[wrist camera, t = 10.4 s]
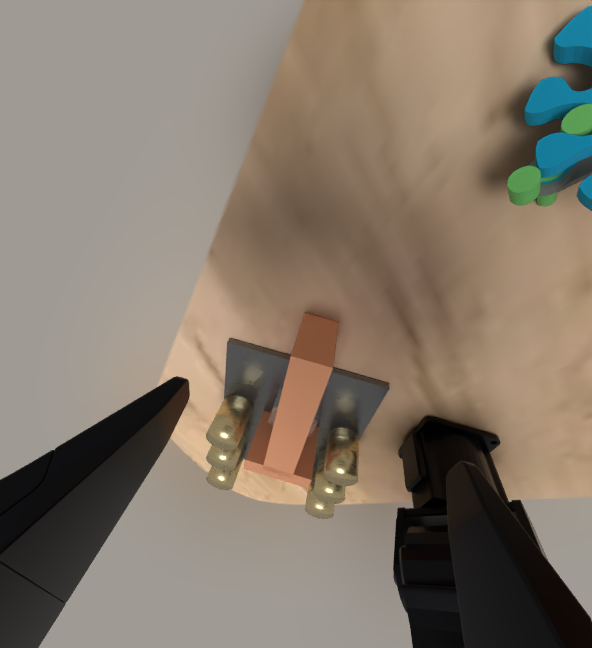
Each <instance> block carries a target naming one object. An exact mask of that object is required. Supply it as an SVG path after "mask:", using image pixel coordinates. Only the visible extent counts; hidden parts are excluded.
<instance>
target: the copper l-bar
mask: <svg viewBox="0 0 592 648" xmlns="http://www.w3.org/2000/svg"><path fill="white" fill-rule="evenodd" d="M338 323H339V322H336V321H333V320H329V319H326V318H322V317H318V316H315V315H311V314H308V313H305V315H304V318H303V321H302V324H301V327H300V330H299V333H298V336H297V339H296V342H295V345H294V348H293V351H292V354H291V357H290V361H289V365H288V369H287V373H286V377H285V381H284V385H283V389H282V393H281V397H280V401H279V405H278V409H277V413H276V417H275V421H274V425H273V426H272V425H271V424H269V423H268V421H269V418H270V415H271V413H269V412H266V411H263V413H262V416H261V419H260V421H259V424H258V427H257V429H256V432H255V435H254V438H253V440H252V443H251V446H250V448H249V451H248V454H247V457H246V459H245V464H244V469H247V470H251V471H254V472H257V473H260V474H264V475H267V476H270V477H273V478H276V479H280V480H283V481H286V482H289V483H293V484H296V485H299V486H302V487H305V488H308V487H309V485H310V483H311V480H312V474H313V467H314V460H315V453H316V447H317V440H318V433H319V427H315V428H314V430H313V432H312V434H311V436H310V437H307V436H308V433H309V431H310V428H311V425H312V423H313V420H314V417H315V415H316V412H317V409H318V407H319V404H320V401H321V399H322V396H323V393H324V391H325V388H326V385H327V383H328V380H329V377H330V375H331V372H332V369H333V364H334V355H335V347H336V339H337V331H338Z"/></svg>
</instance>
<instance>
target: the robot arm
mask: <svg viewBox="0 0 592 648" xmlns="http://www.w3.org/2000/svg"><path fill="white" fill-rule="evenodd" d="M189 396H190V393H189V381H188V380H187V379H185V378H182V377H178V376H177V377H173V378H172V379H170V380H168V381H167V382H165V383H163V384H162V385H160V386H158V387H157V388H155V389H153V390H152V391H150V392H148V393H147V394H145V395H143V396H142V397H140V398H138V399H137V400H135V401H133V402H132V403H130V404H128V405H127V406H125V407H123V408H122V409H120V410H118V411H117V412H115V413H114V414H112V415H110V416H108V417H107V418H105V419H103V420H102V421H100V422H98V423H97V424H95V425H93V426H92V427H90V428H88V429H87V430H85V431H83V432H82V433H80V434H78V435H77V436H75V437H73V438H72V439H70V440H68V441H67V442H65V443H63V444H62V445H60V446H58V447H57V448H56V449H55V450H52V451H50V452H48V453H46V454H45V455H43V456H41V457H40V458H38V459H37V460H35V461H33V462H32V463H29V464H28V465H26V466H24V467H22V468H21V469H19V470H17V471H15V472H14V473H12V474H10V475H8V476H7V477H5V478H3V479H1V480H0V648H38V647H39V646H40V644H41V642H42V641H43V639H44V638H45V636H46V635H47V633H48V631H49V630H50V628H51V626H52V625H53V623H54V622H55V620H56V619H57V617H58V616H59V614H60V612H61V611H62V609H63V607H64V606H65V603H66V602H67V601H68V599H69V598H70V596H71V594H72V593H73V591H74V590H75V588H76V587H77V585H78V583H79V582H80V581H81V579H82V577H83V576H84V574H85V572H86V571H87V569H88V568H89V566H90V565H91V563H92V562H93V560H94V558H95V557H96V555H97V554H98V552H99V551H100V549H101V547H102V546H103V544H104V543H105V541H106V539H107V538H108V536H109V535H110V533H111V532H112V530H113V528H114V527H115V525H116V524H117V522H118V521H119V519H120V517H121V516H122V514H123V513H124V511H125V509H126V508H127V506H128V505H129V503H130V501H131V500H132V498H133V497H134V495H135V493H136V492H137V490H138V489H139V487H140V486H141V484H142V482H143V481H144V479H145V478H146V476H147V475H148V473H149V472H150V470H151V468H152V467H153V465H154V464H155V462H156V460H157V459H158V457H159V456H160V454H161V453H162V451H163V449H164V448H165V446H166V444H167V442H168V441H169V439H170V437H171V435H172V433H173V431H174V429H175V427H176V425H177V422H178V420H179V418H180V416H181V414H182V412H183V410H184V408H185V406H186V404H187V402H188V400H189ZM499 444H500V440H499V438H498V436H496V435H492V434H489V433H485V432H482V431H478V430H475V429H471V428H468V427H464V426H461V425H458V424H454V423H451V422H447V421H444V420H440V419H437V418H433V417H426V418H425V419H424V420H423V421H422V422H421V423H420V425H419V426H418V427H417V429H416V430H415V431H414V432H413V433H412V434H411V435H410V436H409V438H408V439H407V440H406V441H405V443H404V444H403V445H402V447H401V449H400V450H399V452H398V453H399V457H400V458H402V459H403V467H404V476H405V485H406V489H407V491H408V492H412V499H413V507H414V508H409V509H405V508H398V512H397V513H398V514H397V519H396V533H395V549H394V567H393V570H394V581H395V583H396V585H397V587H398V591H399V595H400V598H401V601H402V604H403V606H404V608H405V610H406V612H407V613H408V617H409V623H410V628H411V636H412V644H413V648H592V621H591V618H590V616H589V615H588V614H587V612H586V611H585V610H584V609H583V607H582V606H581V604H580V603H579V602H578V600H577V599H576V598H575V596H574V595H573V594H572V592H571V591H570V590H569V588H568V587H567V586H566V584H565V583H564V582H563V580H562V579H561V578H560V576H559V575H558V574H557V572H556V571H555V570H554V568H553V567H552V566H551V564H550V563H549V562H548V559H547V557H546V555H545V552H544V550H543V548H542V546H541V543H540V541H539V539H538V536H537V534H536V532H535V530H534V527H533V525H532V523H531V521H530V519H529V517H528V515H527V513H526V511H525V509H524V506H523V504H522V502H521V500H512V502H509V501H508V498H507V496H506V493H505V491H504V488H503V486H502V483H501V480H500V478H499V475H498V473H497V470H496V467H495V465H494V462H493V460H492V457H491V455H490V452H491V451H492V450H493V449H495V448H496V447H497V446H498V445H499Z"/></svg>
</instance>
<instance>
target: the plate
mask: <svg viewBox="0 0 592 648" xmlns="http://www.w3.org/2000/svg"><path fill="white" fill-rule="evenodd" d="M290 357H291V355H288V354H284V353H281V352H277V351H274V350H270V349H267V348H263V347H260V346H256V345H253V344H249V343H246V342H242V341H239V340H235V339H232V338H230V339H229V341H228V342H227V358H226V376H225V394H224V401H223V403H222V405H221V407H220V409H219V411H218V413H217V414H216V416H215V418H214V420H213V422H212V424H211V426H210V428H209V430H208V432H207V434H206V438H207V440H208V441H209V442H210V443H211V444H212V446H211V448H210V450H209V452H208V454H207V457H206V459H207V461H208V463H209V464H211V465H212V467H211V469H210V471H209V473H208V476H207V478H206V479H207V481H208V483H209V484H211V485H212V486H214V487H216V488H218V489H222V490H230V489H232V488H233V485H234V482H235V480H236V477H237V474H238V472H239V469H240V466H241V464H242V461H243V458H244V459H246V457H247V454H248V451H249V448H250V446H251V443H252V440H253V438H254V435H255V432H256V429H257V427H258V424H259V421H260V419H261V416H262V413H263V411H266V412H269V413H271V412H272V409H273V406H274V403H275V400H276V397H277V394H278V391H279V389H280V388H283V385H284V381H285V377H286V373H287V369H288V365H289V361H290ZM388 390H389V383H386V382H382V381H379V380H375V379H372V378H368V377H365V376H361V375H358V374H354V373H351V372H347V371H344V370H340V369H337V368H333V369H332V372H331V375H330V377H329V380H328V383H327V385H326V388H325V391H324V393H323V396H322V399H321V401H320V402H321V405H320V411H319V417H318V423H317V425H316V427H319V433H318V440H317V447H316V453H315V460H314V467H313V474H312V480H311V483H310V485H309V487H308V493H307V499H306V506H305V511H306V512H307V513H308V514H310V515H312V516H314V517H317V518H322V519H328V518H332V517H333V515H334V504H338V503H342V502H343V501H344V500H345V486H350V485H354V484H356V483H357V481H358V459H359V439H360V437H361V435H362V434H363V432H364V430H365V429H366V427H367V425H368V423H369V422H370V420H371V418H372V417H373V415H374V413H375V412H376V410H377V408H378V407H379V405H380V403H381V402H382V400H383V398H384V397H385V395H386V393H387V392H388Z"/></svg>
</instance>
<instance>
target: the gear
mask: <svg viewBox="0 0 592 648" xmlns="http://www.w3.org/2000/svg"><path fill="white" fill-rule="evenodd" d="M553 56H554V60H555V61H556V62H558V63H561V64H567V63H581V64H585V65H588V66H590V67H592V6H588V7H587V8H586V9H584V10H583V11H582V12H580V13H579V14H578V15H577V16H575V17H574V18H573V19H572V20H571V21H570V22H569V23H568V24H567V25H566V26H565V27H564V28H563V29H562V30H561V32H560V33H559V34H558V35H557V36H556V37H555V38H554V52H553ZM560 118H564V119H563V121H562V124H561V131H560V133H553V134H550V135H547V136H545V137H544V138H542V139H540V140H539V141H538V142H537V146H536V158H535V159H534V160H532V161H531V163H530V164H529V165H528V166H525V167H521V168H519V169H517V170H516V171H514V172H513V173H512V174H511V175H510V177H509V179H508V182H507V185H508V192H509V198H510V201H511V202H512V203H513V204H516V205H525V204H528V203H530V202H532V201H534V200H535V199H536V198H537V203H538V205H540V206H548V205H551V204H552V203H554V201H555V200H556V196H557V192H559V191H561V190H563V189H565V188H567V187H569V186H571V185H573V184H575V183H577V182H579V181H582V180H584V179H585V180H584V181H583V182H582V183H581V184H580V186H579V189H578V192H577V197H578V199H579V201H580V202H581V203H582V204H583V205H584V206H585V207H587V208H588V209H589V210H591V211H592V88H591V89H589V90H585V91H574V90H572V89H571V88H570V87H569V86H568V84H567V83H566V81H565V80H564V79H563V78H560V77H549V78H546V79H543V80H541V81H540V82H539V84H538V85H537V86H536V87H535V89H534V91H533V92H532V94H531V96H530V98H529V100H528V103H527V105H526V108H525V123H526V124H527V125H531V126H538V125H542V124H545V123H547V122H550V121H553V120H557V119H560Z"/></svg>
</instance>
